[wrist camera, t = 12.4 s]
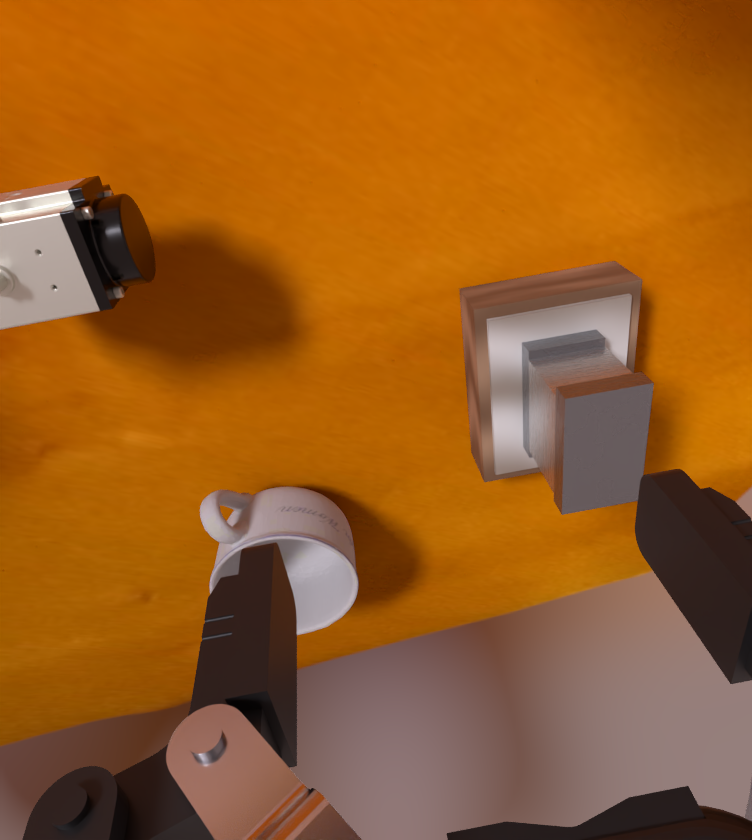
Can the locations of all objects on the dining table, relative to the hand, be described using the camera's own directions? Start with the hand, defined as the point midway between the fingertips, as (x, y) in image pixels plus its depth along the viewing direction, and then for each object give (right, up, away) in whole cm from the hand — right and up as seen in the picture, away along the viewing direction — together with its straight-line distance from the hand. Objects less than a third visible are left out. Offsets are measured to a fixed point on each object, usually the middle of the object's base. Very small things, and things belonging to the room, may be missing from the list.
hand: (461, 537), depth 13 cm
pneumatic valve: (-20, +15, +24) cm, 35 cm away
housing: (+11, +5, +29) cm, 31 cm away
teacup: (-10, -5, +37) cm, 39 cm away
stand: (+10, +7, +33) cm, 35 cm away
